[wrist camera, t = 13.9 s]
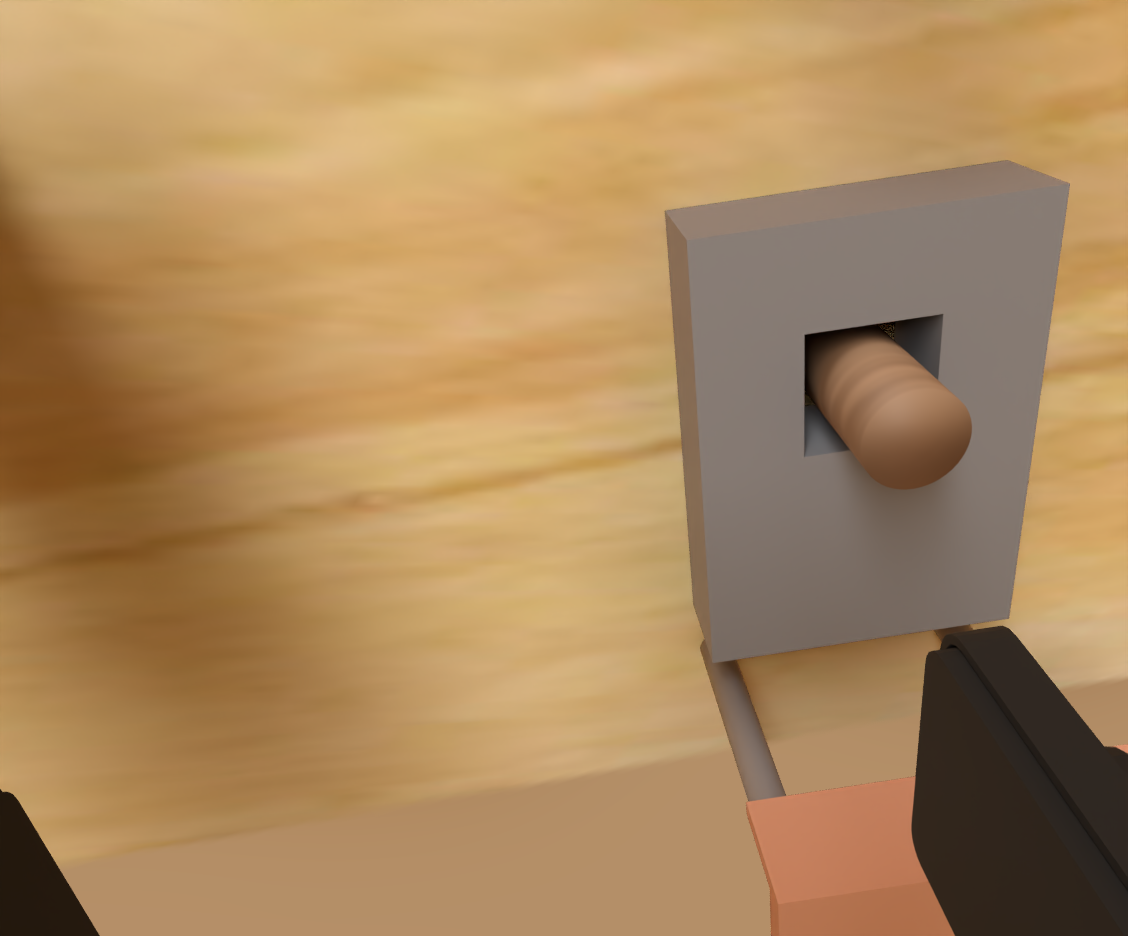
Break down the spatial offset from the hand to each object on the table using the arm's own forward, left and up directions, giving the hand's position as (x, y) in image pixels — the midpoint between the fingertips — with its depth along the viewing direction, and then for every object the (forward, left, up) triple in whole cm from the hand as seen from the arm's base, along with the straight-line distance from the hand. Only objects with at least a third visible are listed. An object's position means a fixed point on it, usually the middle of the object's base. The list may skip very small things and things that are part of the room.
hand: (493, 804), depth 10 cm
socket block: (+12, +14, -30) cm, 35 cm away
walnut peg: (+9, +14, -30) cm, 35 cm away
